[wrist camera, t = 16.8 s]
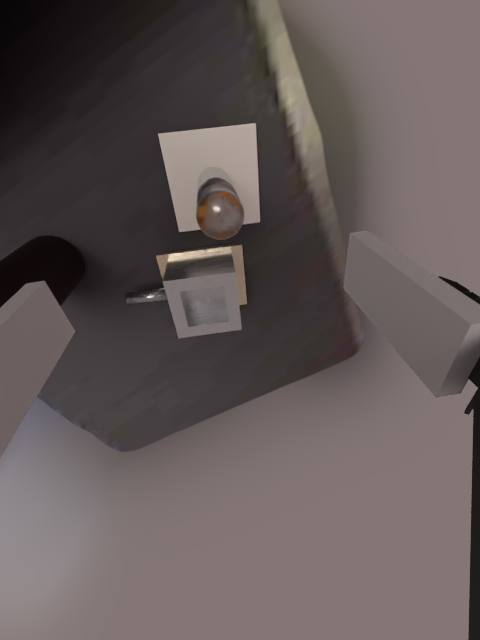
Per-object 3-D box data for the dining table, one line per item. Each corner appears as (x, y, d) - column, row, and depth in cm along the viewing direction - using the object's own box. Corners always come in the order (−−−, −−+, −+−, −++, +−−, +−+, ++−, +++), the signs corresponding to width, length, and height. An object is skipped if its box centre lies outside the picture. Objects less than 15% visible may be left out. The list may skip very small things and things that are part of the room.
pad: (158, 133, 29) (157, 133, 28) (254, 123, 29) (255, 123, 28) (179, 230, 34) (179, 232, 34) (259, 220, 35) (260, 222, 34)
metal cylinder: (211, 208, 33) (215, 248, 22) (191, 180, 31) (185, 210, 20) (236, 189, 32) (253, 221, 21) (217, 159, 30) (225, 178, 19)
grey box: (121, 257, 36) (105, 284, 29) (241, 242, 36) (249, 266, 30) (142, 314, 41) (131, 347, 35) (246, 300, 41) (253, 331, 35)
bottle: (52, 223, 32) (-98, 323, 16) (97, 268, 36) (12, 387, 20) (12, 253, 34) (-162, 372, 18) (60, 293, 38) (-49, 423, 21)
